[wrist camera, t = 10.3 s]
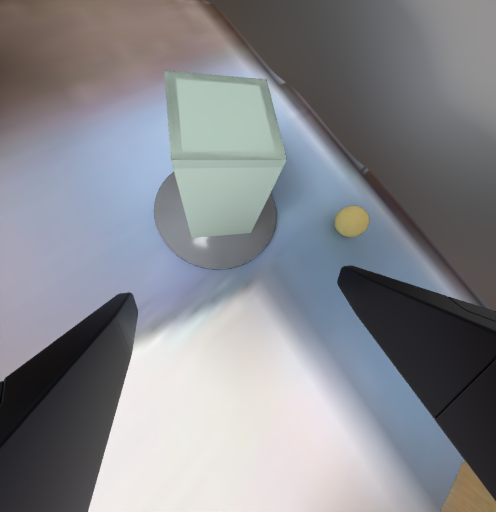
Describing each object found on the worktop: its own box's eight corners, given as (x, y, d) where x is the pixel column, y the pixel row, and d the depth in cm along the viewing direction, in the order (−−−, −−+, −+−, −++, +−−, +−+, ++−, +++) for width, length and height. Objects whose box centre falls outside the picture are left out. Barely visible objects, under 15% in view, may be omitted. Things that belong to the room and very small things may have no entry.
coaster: (296, 230, 19) (298, 227, 19) (199, 295, 16) (199, 294, 15) (232, 148, 21) (233, 143, 20) (131, 192, 17) (129, 189, 17)
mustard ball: (359, 232, 21) (383, 219, 18) (341, 246, 20) (363, 235, 17) (341, 210, 21) (362, 194, 18) (322, 223, 20) (341, 209, 17)
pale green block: (250, 233, 18) (286, 159, 9) (191, 238, 17) (170, 160, 8) (242, 183, 19) (266, 79, 11) (186, 185, 18) (164, 70, 9)
